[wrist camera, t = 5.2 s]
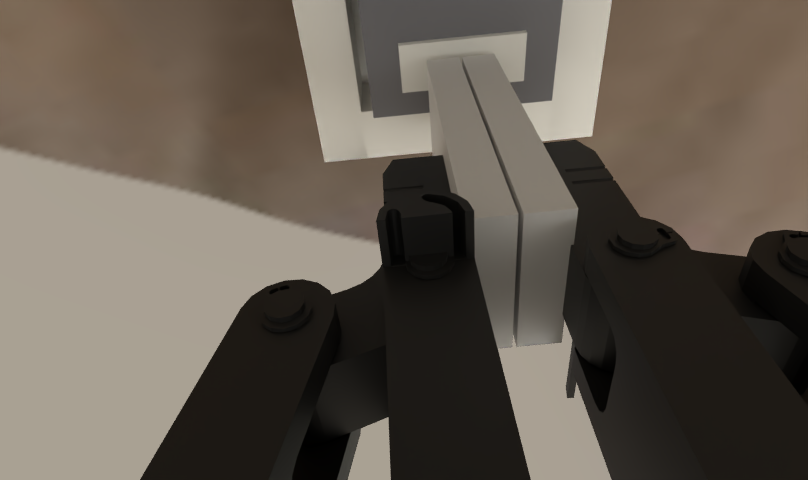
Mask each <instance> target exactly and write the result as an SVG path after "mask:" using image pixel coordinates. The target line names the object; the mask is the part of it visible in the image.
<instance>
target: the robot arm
mask: <svg viewBox="0 0 808 480" xmlns="http://www.w3.org/2000/svg"><path fill="white" fill-rule="evenodd" d="M427 76H428V92H429V109H430V125H431V141H432V156H428V157H418V158H408V159H398V160H393V161H392V162H391V163H390V165H389V166H388V168H387V169H386V171H385V172H384V173H383V190H384V206H383V207H382V208H381V209H380V210H379V213H378V217H377V220H376V222H377V229H378V237H379V244H380V251H381V257H382V265H381V267H380V269H379V270H378V271H377V272H376V273H375V274H374V275H373V276H372V277H370V278H369V279H368V280H366V281H364V282H363V283H361V284H359V285H357V286H355V287H352V288H350V289H348V290H344V291H342V292H338V293H335V294H331V292H330V290H328V289H326V288H325V287H324V286H322V285H321V284H319V283H317V282H312V281H307V280H303V279H302V280H288V281H283V282H279V283H276V284H273V285H270V286H267V287H265V288H264V289H262V290H261V291H259V292H258V293H256V294H254V295H253V296H251V298H250V299H249V300H248V301H247V302H246V303H245V304H244V306H243V307H242V308H241V309H240V311H239V313H238V314H237V316H236V318H235V319H234V321H233V323H232V325H231V326H230V328H229V329H228V331H227V333H226V335H225V336H224V338H223V340H222V342H221V343H220V345H219V346H218V348H217V350H216V352H215V353H214V355H213V357H212V359H211V360H210V362H209V363H208V365H207V367H206V369H205V370H204V372H203V374H202V375H201V377H200V379H199V381H198V382H197V384H196V386H195V387H194V389H193V391H192V392H191V394H190V396H189V398H188V399H187V401H186V403H185V404H184V406H183V408H182V410H181V411H180V413H179V415H178V416H177V418H176V420H175V421H174V423H173V425H172V426H171V428H170V430H169V431H168V433H167V435H166V437H165V438H164V440H163V442H162V443H161V445H160V447H159V448H158V450H157V452H156V454H155V455H154V457H153V459H152V460H151V462H150V464H149V465H148V467H147V469H146V471H145V472H144V474H143V476H142V477H141V479H140V480H348V476H349V472H350V469H351V465H352V462H353V458H354V454H355V451H356V447H357V444H358V440H359V437H360V430H361V428H363V427H365V426H367V425H370V424H372V423H375V422H377V421H380V420H382V419H384V418H387V417H389V437H390V438H389V440H390V465H391V466H390V467H391V480H531V479H530V475H529V471H528V467H527V463H526V459H525V455H524V451H523V447H522V444H521V440H520V436H519V432H518V428H517V424H516V420H515V416H514V412H513V408H512V404H511V400H510V396H509V392H508V388H507V384H506V380H505V376H504V372H503V368H502V364H501V361H500V357H499V352H498V348H508V347H512V340H513V335H514V339H515V343H516V346H517V347H519V346H530V345H540V344H550V343H561V342H562V334H563V327H564V319H565V322H566V325H567V327H568V330H569V332H570V335H571V337H572V340H573V341H572V348H571V355H570V362H569V369H568V376H567V383H566V391H567V398H574V393H575V387H576V382H577V385H578V387H579V390H580V393H581V396H582V399H583V401H584V404H585V407H586V409H587V412H588V415H589V418H590V421H591V424H592V426H593V429H594V432H595V434H596V437H597V440H598V443H599V446H600V448H601V451H602V454H603V457H604V459H605V462H606V465H607V468H608V471H609V473H610V476H611V479H612V480H808V232H803V231H792V230H780V231H772V232H767V233H765V234H763V235H761V236H759V237H757V238H755V239H754V241H753V243H752V245H751V247H750V249H749V252H748V254H747V257H744V256H735V255H726V254H717V253H707V252H701V251H695V250H691V249H690V247H689V246H688V245H687V243H686V242H685V241H684V239H683V238H682V237H681V236H680V235H679V234H678V233H677V232H675V231H674V230H673V229H672V228H670V227H668V226H666V225H664V224H662V223H660V222H658V221H656V220H651V219H647V218H642V217H640V216H639V214H638V213H637V212H636V210H635V209H634V207H633V206H632V204H631V203H630V201H629V200H628V198H627V197H626V196H625V194H624V193H623V191H622V190H621V188H620V187H619V185H618V184H617V183H616V181H615V180H614V181H613V177H612V175H611V174H610V172H609V171H608V170H607V168H606V169H605V165H604V164H603V162H602V161H601V159H600V158H599V157H598V155H597V154H596V152H595V151H594V150H592V149H590V148H589V147H587V146H585V145H583V144H582V143H580V142H578V141H577V140H570V141H560V142H550V143H542V141H541V139H540V137H539V135H538V133H537V132H536V130H535V128H534V126H533V124H532V122H531V120H530V119H529V117H528V115H527V113H526V111H525V109H524V108H523V106H522V104H521V102H520V100H519V98H518V97H517V95H516V93H515V91H514V89H513V87H512V86H511V84H510V82H509V80H508V78H507V76H506V75H505V73H504V71H503V69H502V67H501V65H500V64H499V62H498V60H497V58H496V56H495V54H484V55H475V56H465V57H462V64H461V62H460V59H459V57H455V58H445V59H435V60H427Z"/></svg>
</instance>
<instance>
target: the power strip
mask: <svg viewBox="0 0 808 480" xmlns="http://www.w3.org/2000/svg"><path fill="white" fill-rule="evenodd" d="M292 3H293V8H294V13H295V18H296V23H297V28H298V33H299V38H300V43H301V48H302V52H303V57H304V62H305V67H306V72H307V77H308V82H309V87H310V92H311V97H312V102H313V107H314V112H315V117H316V121H317V126H318V131H319V136H320V141H321V146H322V151H323V156H324V161H325V162H333V161H344V160H354V159H364V158H374V157H385V156H395V155H405V154H415V153H426V152H432V141H431V125H430V113H421V114H411V115H401V116H391V117H380V118H374V117H373V110H372V102H371V95H370V87H369V80H368V72H367V65H366V57H365V50H364V42H363V35H362V27H361V20H360V12H359V5H358V0H292ZM611 3H612V0H563V5H562V14H561V23H560V32H559V41H558V50H557V59H556V68H555V77H554V86H553V96H552V101H543V102H532V103H522V106H523V108H524V109H525V111H526V113H527V115H528V117H529V119H530V120H531V122H532V124H533V126H534V128H535V130H536V132H537V133H538V135H539V137H540V139H541V141H549V140H559V139H569V138H580V137H590V136H592V132H593V125H594V118H595V112H596V105H597V98H598V91H599V85H600V78H601V71H602V64H603V58H604V51H605V44H606V37H607V30H608V24H609V17H610V10H611Z"/></svg>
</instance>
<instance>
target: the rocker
mask: <svg viewBox="0 0 808 480" xmlns="http://www.w3.org/2000/svg"><path fill="white" fill-rule="evenodd" d="M358 5H359V12H360V20H361V27H362V35H363V42H364V50H365V57H366V65H367V72H368V80H369V87H370V95H371V102H372V110H373V117H374V118H380V117H391V116H401V115H411V114H421V113H430V109H429V92H428V76H427V60H435V59H445V58H455V57H459V59H460V62H461V64H462V57H465V56H475V55H484V54H495V56H496V58H497V60H498V62H499V64H500V65H501V67H502V69H503V71H504V73H505V75H506V76H507V78H508V80H509V82H510V84H511V86H512V87H513V89H514V91H515V93H516V95H517V97H518V98H519V100H520V102H521V104H522V103H532V102H543V101H552V96H553V86H554V77H555V68H556V59H557V50H558V41H559V32H560V23H561V14H562V5H563V0H358Z"/></svg>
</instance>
